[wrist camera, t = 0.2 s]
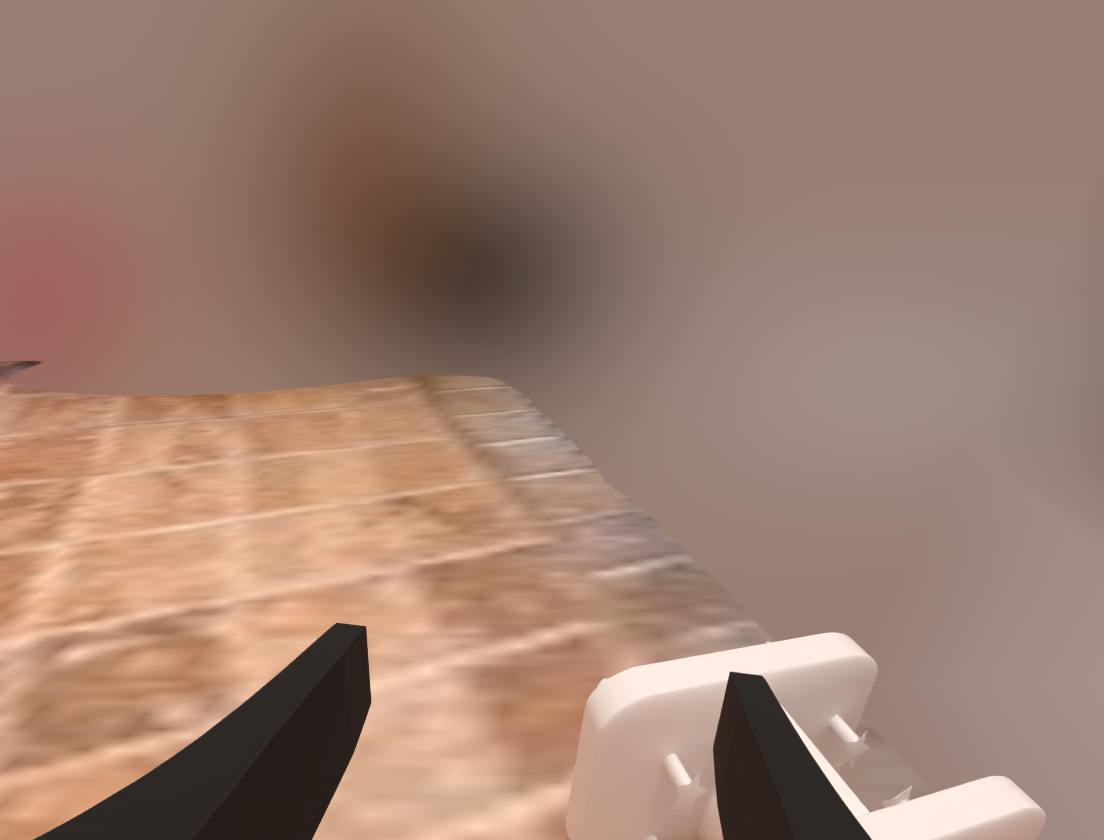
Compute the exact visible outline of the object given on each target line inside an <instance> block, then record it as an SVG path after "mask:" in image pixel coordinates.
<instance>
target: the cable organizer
mask: <svg viewBox="0 0 1104 840" xmlns="http://www.w3.org/2000/svg"><path fill="white" fill-rule="evenodd" d="M730 672H738V673H746V674H754V675H762V676H763V677H764V678H765V680H766V681H767V682H768V684H769V686H770V688H771V689H772V691H773V693H774V695H775V696H776V698H777V700H778V701H779V703H780V705H781V706H782V708H783V710H784V711H785V713H786V715H787V716H788V718H789V720H790V721H791V723H792V725H793V726H794V728H795V729H796V731H797V733H798V734H799V736H800V737H801V739H802V741H803V742H804V744H805V745H806V747H807V748H808V750H809V751H810V753H811V755H812V756H813V758H814V759H815V760H816V762H817V763H818V765H819V766H820V768H821V769H822V771H823V772H824V774H825V775H826V777H827V778H828V780H829V781H830V783H831V784H832V786H833V787H834V789H835V790H836V791H837V793H838V794H839V796H840V797H841V798H842V800H843V801H844V803H845V804H846V805H847V807H848V808H849V809H850V811H851V812H852V813H853V815H854V816H855V817H856V819H857V820H858V822H859V823H860V824H861V826H862V827H863V828H864V830H865V831H866V832H867V834H868V835H869V836H870V837H871V839H872V840H1036V839H1037V838H1038V836H1039V835H1040V833H1041V831H1042V829H1043V827H1044V824H1045V817H1046V816H1045V813H1044V811H1043V810H1042V809H1041V808H1040V807H1039V806H1038V805H1037V804H1036V803H1035V802H1034V801H1033V800H1032V799H1031V798H1030V797H1028V796H1027V795H1026V794H1025V793H1024V792H1023V791H1022V790H1021V789H1020V788H1019V787H1018V786H1017V785H1015V784H1014V783H1013V782H1012V781H1011V780H1010V779H1008V778H1007V777H1003V776H991V777H985V778H982V779H978V780H975V781H972V782H969V783H965V784H962V785H959V786H956V787H952V788H949V789H946V790H942V791H939V792H936V793H933V794H929V795H926V796H923V797H920V798H916V799H913V800H911V799H908V798H909V795H910V792H911V789H912V786H910V787H909V788H907V789H906V790H904V791H903V792H902V793H900V794H899V795H897V796H896V797H895V798H893V799H892V800H886V801H882V804H883V809H880V810H877V811H874V812H871V813H870V812H869V811H868V810H867V809H866V807H865V806H864V805H863V804H862V803H861V801H860V800H859V799H858V798H857V796H856V795H855V794H854V793H853V792H852V790H851V789H850V788H849V787H848V785H847V784H846V783H845V782H844V781H843V779H842V778H841V777H840V776H839V772H840V770H841V767H842V765H843V764H845V763H847V762H849V765H850V767H851V769H852V768H853V766H854V764H855V762H856V760H857V758H858V756H859V755H860V754H862V753H863V752H864V751H866V750H867V749H868V748H870V747H869V746H867V745H865V744H864V740H865V736H866V733H867V731H866V732H865V733H864V734H863V735H862V736H861V737H860V738H859V737H858V736H857V735H856V734H855V731H856V728H857V726H858V723H859V721H860V718H861V715H862V713H863V710H864V708H865V705H866V702H867V700H868V697H869V695H870V692H871V690H872V687H873V684H874V682H875V679H876V676H877V672H878V668H877V665H876V662H875V661H874V660H873V659H872V658H871V657H870V656H869V655H868V654H867V653H866V652H864V650H863V649H862V648H860V647H859V646H858V645H857V644H856V643H855V642H854V641H853V640H852V639H851V638H850V637H848V636H847V635H844V634H841V633H823V634H817V635H812V636H806V637H801V638H795V639H790V640H784V641H778V642H772V643H769V642H766V644H761V645H756V646H750V647H744V648H739V649H733V650H727V651H722V652H716V653H710V654H705V655H699V656H694V657H688V658H682V659H677V660H671V661H665V662H660V663H654V664H649V665H643V666H637V667H632V668H630V669H628V670H625V671H622V672H620V673H618V674H616V675H614V676H612V677H611V678H609V679H603V680H602V681H600V683H599V684H598V687H597V688H596V689H595V690H594V691H593V693H592V694H591V695H590V696H589V698H588V700H587V702H586V706H585V711H584V717H583V723H582V728H581V734H580V740H579V746H578V752H577V758H576V764H575V770H574V776H573V781H572V787H571V793H570V799H569V805H568V811H567V817H566V823H565V828H566V831H567V834H568V837H569V840H723V835H722V829H721V824H720V818H719V812H718V807H717V797H716V786H715V773H714V758H713V745H714V740H715V736H716V731H717V727H718V722H719V718H720V713H721V709H722V704H723V700H724V695H725V691H726V686H727V682H728V677H729V673H730Z"/></svg>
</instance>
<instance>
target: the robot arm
mask: <svg viewBox="0 0 1104 840" xmlns="http://www.w3.org/2000/svg"><path fill="white" fill-rule="evenodd" d="M370 705H371V691H370V677H369V662H368V648H367V634H366V626H358V625H350V624H342V623H336V624H335V625H333V626H332V627H331V628H330V629H328V630H327V631H326V632H325V633H324V634H323V635H322V636H321V637H319V638H318V639H317V640H316V641H315V642H314V643H313V644H312V645H310V646H309V647H308V648H307V649H306V650H305V651H304V652H303V653H302V654H300V655H299V656H298V657H297V658H296V659H295V660H294V661H292V662H291V663H290V664H289V665H288V666H287V667H286V668H285V669H283V670H282V671H281V672H280V673H279V674H278V675H276V676H275V677H274V678H273V679H272V680H271V681H269V682H268V683H267V684H266V685H265V686H263V687H262V688H261V689H260V690H259V691H258V692H256V693H255V694H254V695H253V696H252V697H250V698H249V699H248V700H247V701H246V702H244V703H243V704H242V705H241V706H239V707H238V708H237V709H236V710H234V711H233V712H232V713H230V714H229V715H228V716H227V717H225V718H224V719H223V720H221V721H220V722H219V723H218V724H216V725H215V726H214V727H212V728H211V729H210V730H209V731H207V732H206V733H205V734H203V735H202V736H201V737H199V738H198V739H197V740H195V741H194V742H192V743H191V744H190V745H188V746H187V747H186V748H184V749H183V750H181V751H180V752H178V753H177V754H176V755H174V756H173V757H171V758H170V759H168V760H167V761H165V762H164V763H162V764H161V765H160V766H158V767H157V768H155V769H154V770H152V771H151V772H149V773H148V774H146V775H145V776H143V777H141V778H140V779H138V780H137V781H135V782H133V783H132V784H130V785H128V786H127V787H125V788H123V789H122V790H120V791H118V792H117V793H115V794H113V795H112V796H110V797H108V798H107V799H105V800H103V801H102V802H100V803H98V804H97V805H95V806H93V807H92V808H90V809H88V810H87V811H85V812H83V813H82V814H80V815H78V816H76V817H75V818H73V819H71V820H69V821H67V822H66V823H64V824H62V825H60V826H58V827H56V828H54V829H53V830H51V831H49V832H47V833H45V834H43V835H42V836H40V837H38V838H36V839H34V840H312V838H313V836H314V834H315V832H316V830H317V828H318V826H319V824H320V822H321V820H322V818H323V816H324V814H325V812H326V810H327V808H328V805H329V803H330V801H331V799H332V797H333V795H334V793H335V791H336V789H337V787H338V785H339V783H340V781H341V779H342V776H343V774H344V772H345V770H346V768H347V766H348V764H349V762H350V760H351V758H352V755H353V753H354V750H355V748H356V745H357V742H358V739H359V737H360V734H361V731H362V728H363V725H364V723H365V720H366V717H367V714H368V711H369V708H370ZM713 758H714V773H715V786H716V797H717V807H718V812H719V818H720V824H721V829H722V835H723V840H872V839H871V837H870V836H869V835H868V834H867V832H866V831H865V830H864V828H863V827H862V826H861V824H860V823H859V822H858V820H857V819H856V817H855V816H854V815H853V813H852V812H851V811H850V809H849V808H848V807H847V805H846V804H845V803H844V801H843V800H842V798H841V797H840V796H839V794H838V793H837V791H836V790H835V789H834V787H833V786H832V784H831V783H830V781H829V780H828V778H827V777H826V775H825V774H824V772H823V771H822V769H821V768H820V766H819V765H818V763H817V762H816V760H815V759H814V758H813V756H812V755H811V753H810V751H809V750H808V748H807V747H806V745H805V744H804V742H803V741H802V739H801V737H800V736H799V734H798V733H797V731H796V729H795V728H794V726H793V725H792V723H791V721H790V720H789V718H788V716H787V715H786V713H785V711H784V710H783V708H782V706H781V705H780V703H779V701H778V700H777V698H776V696H775V695H774V693H773V691H772V689H771V688H770V686H769V684H768V682H767V681H766V680H765V678H764V677H763V676H762V675H754V674H746V673H738V672H730V673H729V677H728V682H727V686H726V691H725V695H724V700H723V704H722V709H721V713H720V718H719V722H718V727H717V731H716V736H715V740H714V745H713Z"/></svg>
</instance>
